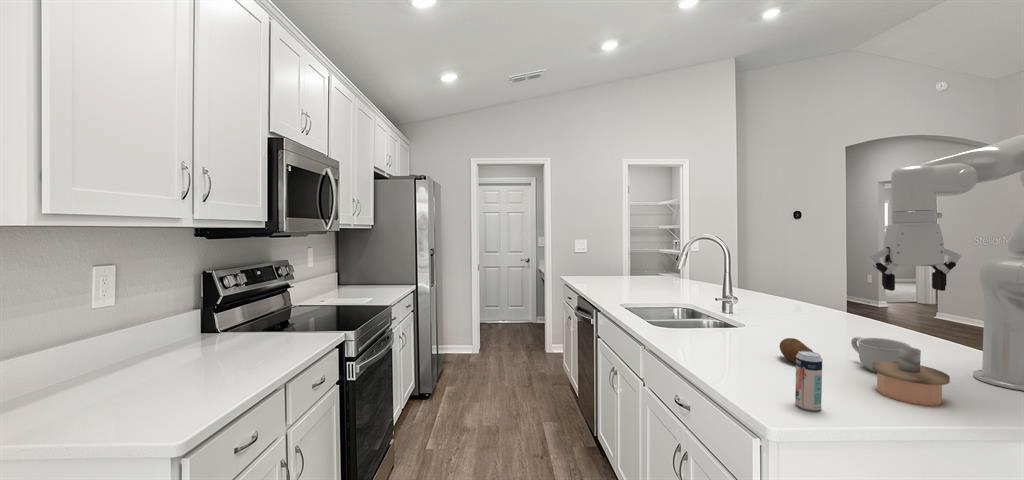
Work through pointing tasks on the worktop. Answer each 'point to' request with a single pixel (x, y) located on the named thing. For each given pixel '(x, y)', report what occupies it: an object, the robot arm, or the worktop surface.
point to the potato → (792, 348)
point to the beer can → (808, 380)
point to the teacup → (877, 350)
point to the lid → (910, 369)
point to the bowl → (909, 391)
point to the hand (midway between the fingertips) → (913, 289)
